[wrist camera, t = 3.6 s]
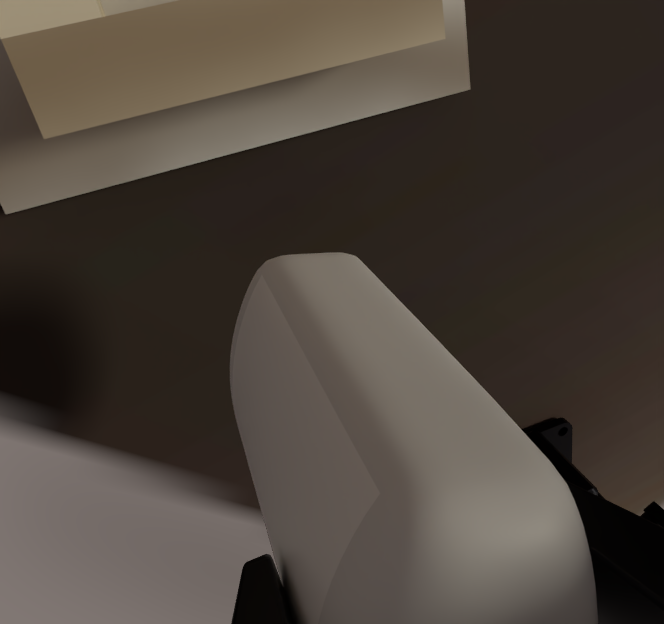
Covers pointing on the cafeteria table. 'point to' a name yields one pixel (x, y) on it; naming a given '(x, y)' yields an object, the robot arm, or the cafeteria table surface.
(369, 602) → the eye dropper bottle
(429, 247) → the cafeteria table surface
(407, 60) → the collar block
